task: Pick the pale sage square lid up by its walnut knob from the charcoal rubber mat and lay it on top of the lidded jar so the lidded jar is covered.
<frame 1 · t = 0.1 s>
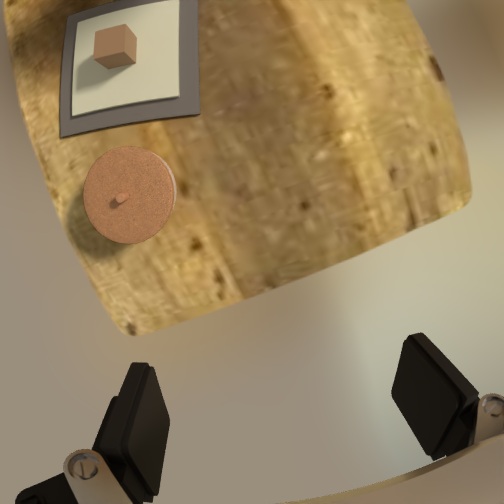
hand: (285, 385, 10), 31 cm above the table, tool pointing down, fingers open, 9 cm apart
lidded jar: (144, 188, 38), on the table
lid sheet: (124, 54, 32), point 1 cm above the table, touching mat
mat: (125, 56, 32), on the table
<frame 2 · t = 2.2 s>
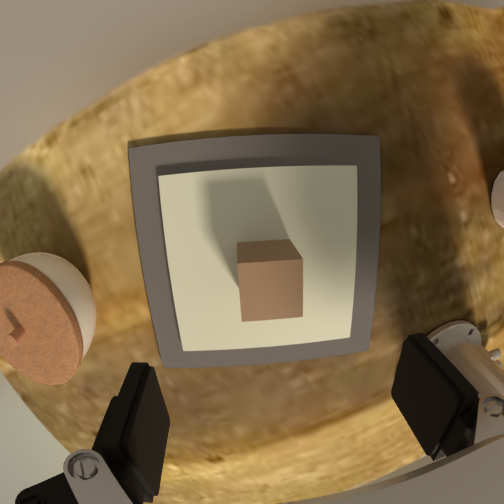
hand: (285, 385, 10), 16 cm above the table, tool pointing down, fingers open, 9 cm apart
lidded jar: (65, 291, 26), on the table
lid sheet: (263, 262, 25), point 1 cm above the table, touching mat
mat: (263, 260, 25), on the table
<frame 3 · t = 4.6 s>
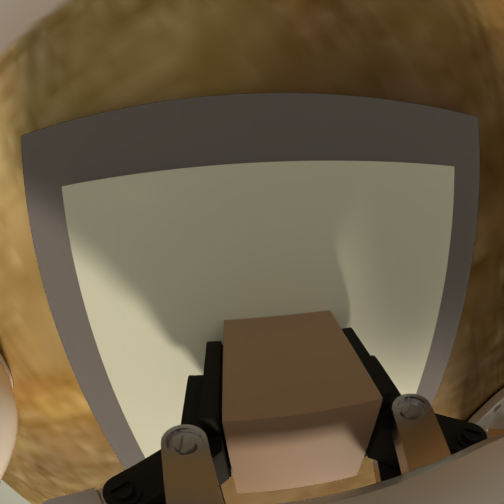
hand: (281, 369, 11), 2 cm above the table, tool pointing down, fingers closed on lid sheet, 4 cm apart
lid sheet: (276, 347, 13), point 1 cm above the table, touching gripper, mat
mat: (274, 339, 13), on the table
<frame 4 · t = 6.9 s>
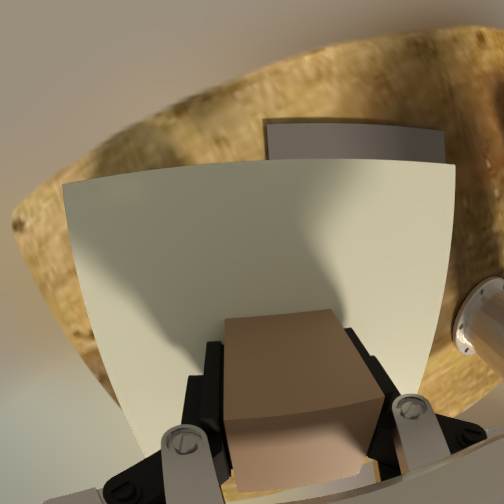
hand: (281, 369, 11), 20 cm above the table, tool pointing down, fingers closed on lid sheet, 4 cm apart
lid sheet: (277, 346, 13), point 18 cm above the table, touching gripper
mat: (368, 221, 30), on the table
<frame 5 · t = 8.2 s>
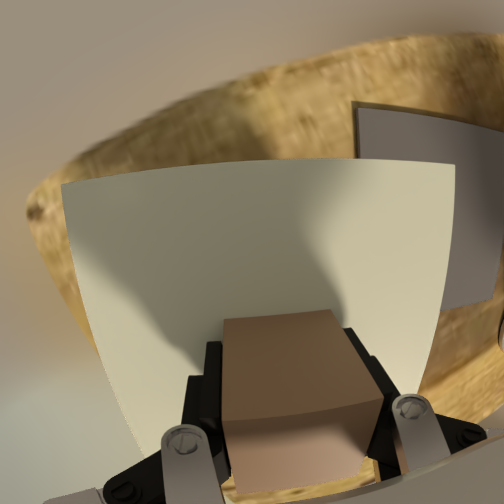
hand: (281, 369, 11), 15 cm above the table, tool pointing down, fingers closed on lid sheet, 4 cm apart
lid sheet: (276, 346, 13), point 14 cm above the table, touching gripper
mat: (444, 219, 26), on the table
when the fingers open (12 cm above the table, at t = 9.5 s): lid sheet drops 1 cm, resting on lidded jar.
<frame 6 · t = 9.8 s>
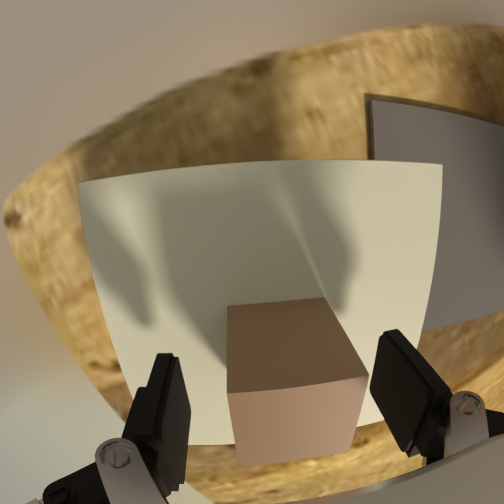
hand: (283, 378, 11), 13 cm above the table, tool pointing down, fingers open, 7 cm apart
lid sheet: (275, 331, 14), point 9 cm above the table, touching lidded jar
mat: (462, 226, 23), on the table
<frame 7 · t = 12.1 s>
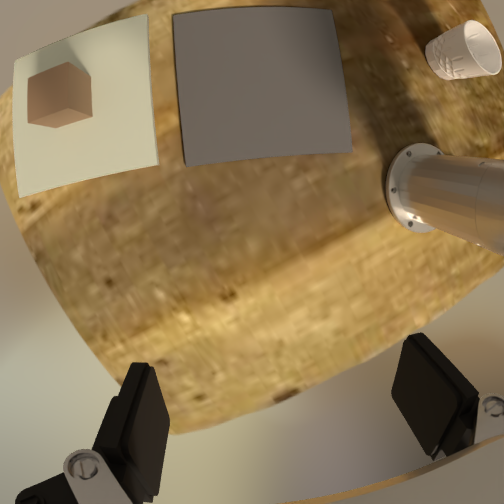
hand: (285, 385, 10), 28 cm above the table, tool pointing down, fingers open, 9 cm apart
lid sheet: (76, 103, 22), point 9 cm above the table, touching lidded jar
mat: (263, 76, 32), on the table
white cup: (440, 60, 33), on the table
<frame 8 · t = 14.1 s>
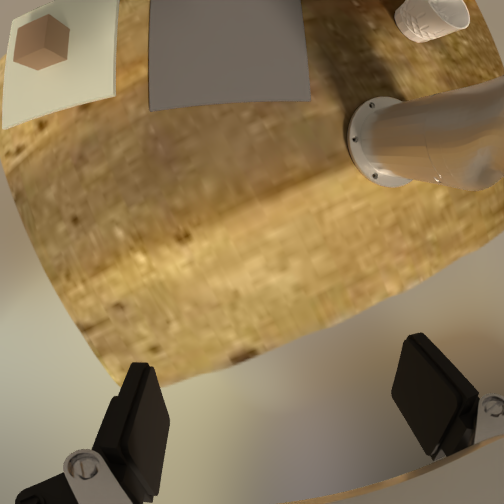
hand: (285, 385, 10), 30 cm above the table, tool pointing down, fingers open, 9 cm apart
lid sheet: (56, 51, 22), point 9 cm above the table, touching lidded jar
mat: (226, 33, 32), on the table
white cup: (411, 24, 32), on the table
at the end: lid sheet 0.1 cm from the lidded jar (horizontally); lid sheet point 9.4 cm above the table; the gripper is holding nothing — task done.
